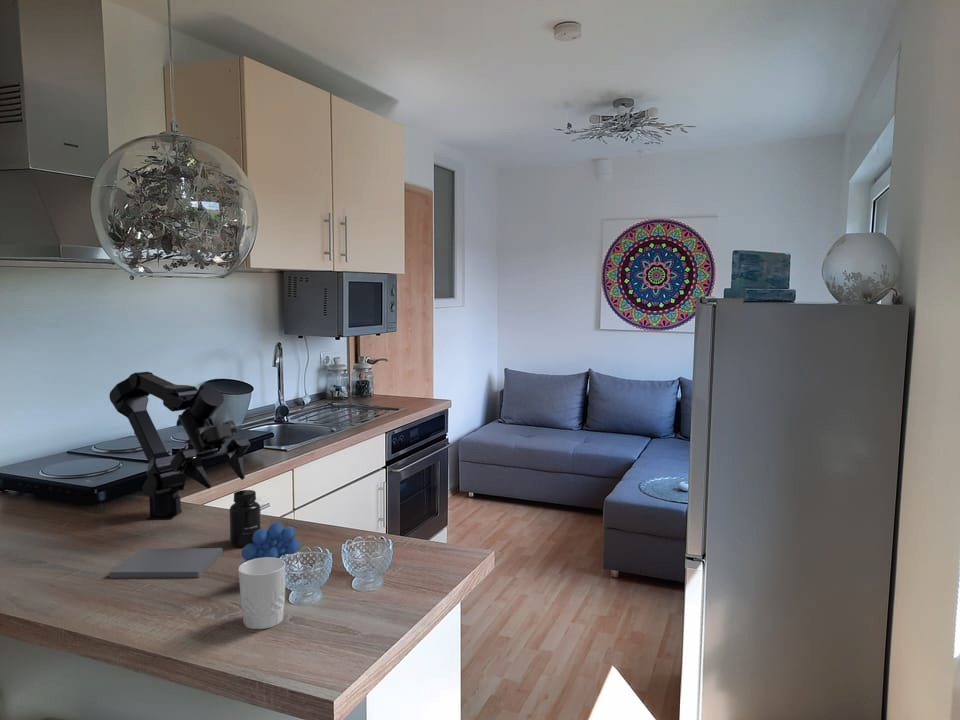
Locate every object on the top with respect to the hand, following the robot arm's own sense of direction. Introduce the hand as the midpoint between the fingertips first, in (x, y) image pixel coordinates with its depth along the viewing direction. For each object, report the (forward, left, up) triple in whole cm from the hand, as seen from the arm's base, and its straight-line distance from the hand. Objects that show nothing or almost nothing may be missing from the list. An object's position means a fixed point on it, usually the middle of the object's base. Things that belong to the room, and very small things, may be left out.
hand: (226, 483), depth 158 cm
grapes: (+18, -26, -13) cm, 34 cm away
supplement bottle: (+6, -5, -13) cm, 15 cm away
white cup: (+22, -43, -13) cm, 50 cm away
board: (-6, -18, -13) cm, 23 cm away
